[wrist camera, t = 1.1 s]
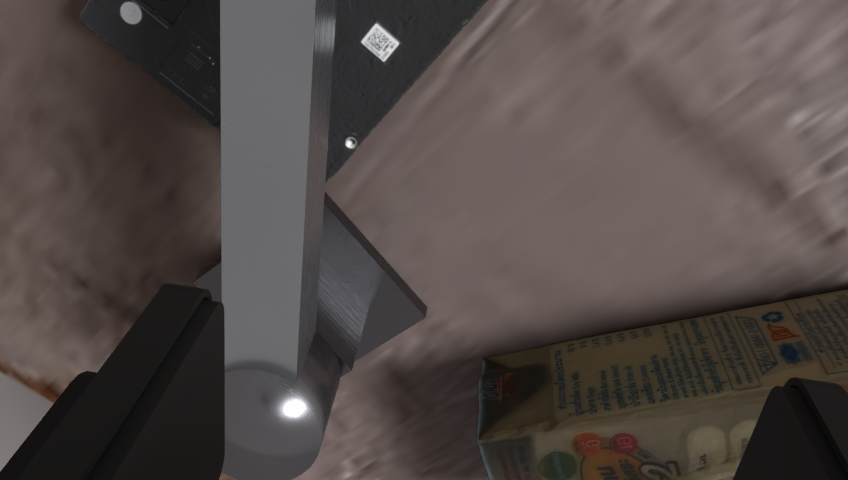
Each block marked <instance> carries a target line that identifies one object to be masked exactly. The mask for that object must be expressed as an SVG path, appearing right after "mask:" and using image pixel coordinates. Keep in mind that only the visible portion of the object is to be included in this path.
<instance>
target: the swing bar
mask: <svg viewBox="0 0 848 480" xmlns="http://www.w3.org/2000/svg"><path fill="white" fill-rule="evenodd" d="M336 7H337V0H220V69H221V257H222V303H223V306H224V325H225V456H224V463H223V467H222V471H221V472H223V473H225V474H227V475H229V476H231V477H233V478H236V479H239V480H291V479H293V478H295V477H297V476H299V475H301V474H302V473H304V472H305V471H306V470H307V469H309V468H310V467H311V465H312V464H313V463H314V461H315V460H316V458H317V456H318V453H319V450H320V447H321V443H322V440H323V436H324V433H325V430H326V426H327V423H328V419H329V416H330V412H331V409H332V406H333V402H334V399H335V395H336V392H337V389H338V385H339V381H340V367H339V362H338V359H337V357H336V355H335V352H334V351H333V349H332V348H331V346H330V345H329V344H328V342H327V341H326V340H325V339H324V338H323V337H322V336H321V335H319V334H318V333H317V332H316V319H317V304H318V288H319V273H320V257H321V241H322V226H323V210H324V195H325V179H326V163H327V148H328V132H329V116H330V101H331V85H332V70H333V54H334V38H335V23H336Z"/></svg>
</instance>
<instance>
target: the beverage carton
mask: <svg viewBox="0 0 848 480" xmlns="http://www.w3.org/2000/svg"><path fill="white" fill-rule="evenodd" d="M482 366H483V367H482V374H481V377H480V380H479V396H478V397H479V422H478V436H477V442H478V445H479V449H480V452H481V456H482V459H483V462H484V465H485V468H486V471H487V474H488V477H489V480H733V478H734V475H735V473H736V471H737V468H738V466H739V463H740V461H741V459H742V456H743V454H744V452H745V449H746V447H747V444H748V442H749V440H750V437H751V435H752V433H753V430H754V428H755V425H756V423H757V421H758V418H759V416H760V414H761V411H762V409H763V406H764V404H765V402H766V399H767V397H768V395H769V393H770V391H771V389H773V388H774V387H775V386H784V384H785V383H786V382H787V381H788V380H789V379H790V378H794V377H797V378H804V379H810V380H817V381H824V382H830V383H836V384H839V385H841V386H842V387H843V389H844V390H845V391H846V393H847V394H848V289H847V290H841V291H836V292H830V293H825V294H819V295H814V296H808V297H803V298H797V299H792V300H787V301H782V302H777V303H772V304H767V305H761V306H755V307H749V308H744V309H738V310H733V311H727V312H722V313H717V314H713V315H708V316H702V317H697V318H691V319H686V320H680V321H675V322H670V323H665V324H659V325H653V326H647V327H642V328H636V329H631V330H625V331H620V332H614V333H608V334H603V335H598V336H593V337H588V338H582V339H576V340H570V341H566V342H561V343H557V344H553V345H548V346H544V347H540V348H535V349H530V350H524V351H519V352H514V353H509V354H505V355H499V356H493V357H486V358H484V359H483V361H482Z"/></svg>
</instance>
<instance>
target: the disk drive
mask: <svg viewBox="0 0 848 480" xmlns="http://www.w3.org/2000/svg"><path fill="white" fill-rule="evenodd" d="M487 1H488V0H337V7H336V23H335V38H334V54H333V70H332V85H331V101H330V116H329V132H328V148H327V163H326V179H325V184H326V182H327V181H328V180H329V179H330V178H332V177H334V176H335V174H336V173H337V172H338V171H339V169H340V168H341V167H342V166H343V165H344V164H345V163H346V162H347V161H348V160H349V158H350V156H351V155H352V154H353V153H354V152H355V150H356V149H357V147H358V146H359V145H360V144H361V143H362V141H363V140H364V139H365V138H366V137H367V136H368V135H369V134H370V133H371V132H372V130H373V129H374V128H376V127H377V125H378V124H379V123H380V122H381V121H382V119H383V118H384V117H385V116H386V115H387V114H388V112H389V111H390V110H391V109H392V108H393V107H394V105H395V104H396V103H397V102H398V101H399V100H400V99H401V97H402V96H403V95H404V94H405V93H406V92H407V91H408V90H409V89H410V88H411V87H412V86H413V84H414V83H415V82H416V81H417V80H418V79H419V77H420V76H421V75H422V74H423V73H424V72H425V71H426V70H427V68H428V67H429V66H430V65H431V63H432V62H433V61H434V60H435V59H436V58H437V57H438V56H439V55H440V54H441V52H442V51H443V50H444V49H445V48H446V47H447V46H448V45H449V43H450V42H451V41H452V39H453V38H454V37H455V36H456V35H457V34H458V33H459V32H460V31H461V30H462V28H463V27H464V26H465V25H466V24H467V23H468V22H469V21H470V20H471V19H472V18H473V17H474V15H475V14H476V13H477V12H478V11H479V10H480V8H481V7H482V6H483V5H484V4H485V2H487ZM79 18H80V21H81V22H82V23H83V24H84V25H85V26H86V27H88V28H89V29H90V30H92V31H93V32H94V33H95V34H97V35H98V36H99V37H101V38H102V39H103V40H104V41H106V42H107V43H108V44H110V45H111V46H112V47H114V48H115V49H117V50H118V51H119V52H120V53H121V54H122V55H123V56H125V57H126V58H128V59H130V60H132V61H133V62H134V64H136V65H137V66H138V67H140V68H141V69H143V70H144V72H145V73H147V74H149V75H150V76H151V77H152V78H153V79H154V80H156V81H157V82H158V83H159V84H161V85H162V86H163V87H165V88H166V89H168V90H169V91H170V92H171V93H172V94H173V95H174V96H176V97H177V98H178V99H180V100H181V101H182V102H183V103H184V104H186V105H187V106H189V107H190V108H191V109H192V110H194V111H195V112H196V113H197V114H198V115H200V116H201V117H202V118H203V119H204V120H206V121H207V122H208V123H210V124H211V125H212V126H214V127H218V128H220V129H221V69H220V0H88V2H87V4H86V5H85V7H84V8H83V10H82V12H81V13H80V14H79Z"/></svg>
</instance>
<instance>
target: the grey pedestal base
mask: <svg viewBox="0 0 848 480" xmlns="http://www.w3.org/2000/svg"><path fill="white" fill-rule="evenodd" d="M193 284H194V285H195V286H196V287H197V288H202V289H208V290H209V291H210V293H211V296H212V301H216V302H222V257H221V258H220V259H218V260H217V261H216V262H214V263H213V264H211V265H210V266H209V267H207V268H206V269H205V270H203V271H202V272H201V273H199V275H198V276H197V277H196V279H195V280H194V282H193ZM426 311H427V307H426V305H425V304H424V303H423V302H422V301H421V300H420V299H419V298H418V296H417V295H416V294H415V293H414V292H413V291H412V290H411V289H410V287H409V286H408V285H407V284H406V283H405V282H404V281H403V279H402V278H401V277H400V276H399V275H398V274H397V273H396V272H395V270H394V269H393V268H392V267H391V266H390V265H389V264H388V263H387V261H386V260H385V259H384V258H383V257H382V256H381V255H380V254H379V252H378V251H377V250H376V249H375V248H374V247H373V246H372V244H371V243H370V242H369V241H368V240H367V239H366V238H365V237H364V235H363V234H362V233H361V232H360V231H359V230H358V229H357V228H356V226H355V225H354V224H353V223H352V222H351V221H350V220H349V219H348V217H347V216H346V215H345V214H344V213H343V212H342V211H341V209H340V208H339V207H338V206H337V205H336V204H335V203H334V202H333V200H332V199H331V198H330V197H329V196H328V195H327V194H326V193H325V195H324V210H323V226H322V241H321V257H320V273H319V288H318V304H317V319H316V332H317V333H318V334H319V335H321V336H322V337H323V338H324V339H325V340H326V341H327V342H328V344H329V345H330V346H331V348H332V349H333V351H334V352H335V355H336V357H337V359H338V362H339V367H340V377H341V376H343V375H345V374H346V373H348V372H350V371H351V370H352V368H353V364H354V361H356V360H357V359H359V358H360V357H362V356H364V355H365V354H367V353H369V352H370V351H372V350H373V349H375V348H377V347H378V346H380V345H382V344H383V343H385V342H386V341H388V340H390V339H391V338H393V337H395V336H396V335H398V334H399V333H401V332H403V331H404V330H406V329H408V328H409V327H411V326H412V325H414V324H416V323H417V322H419V321H421V320H422V319H424V318H425V317H426Z"/></svg>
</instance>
